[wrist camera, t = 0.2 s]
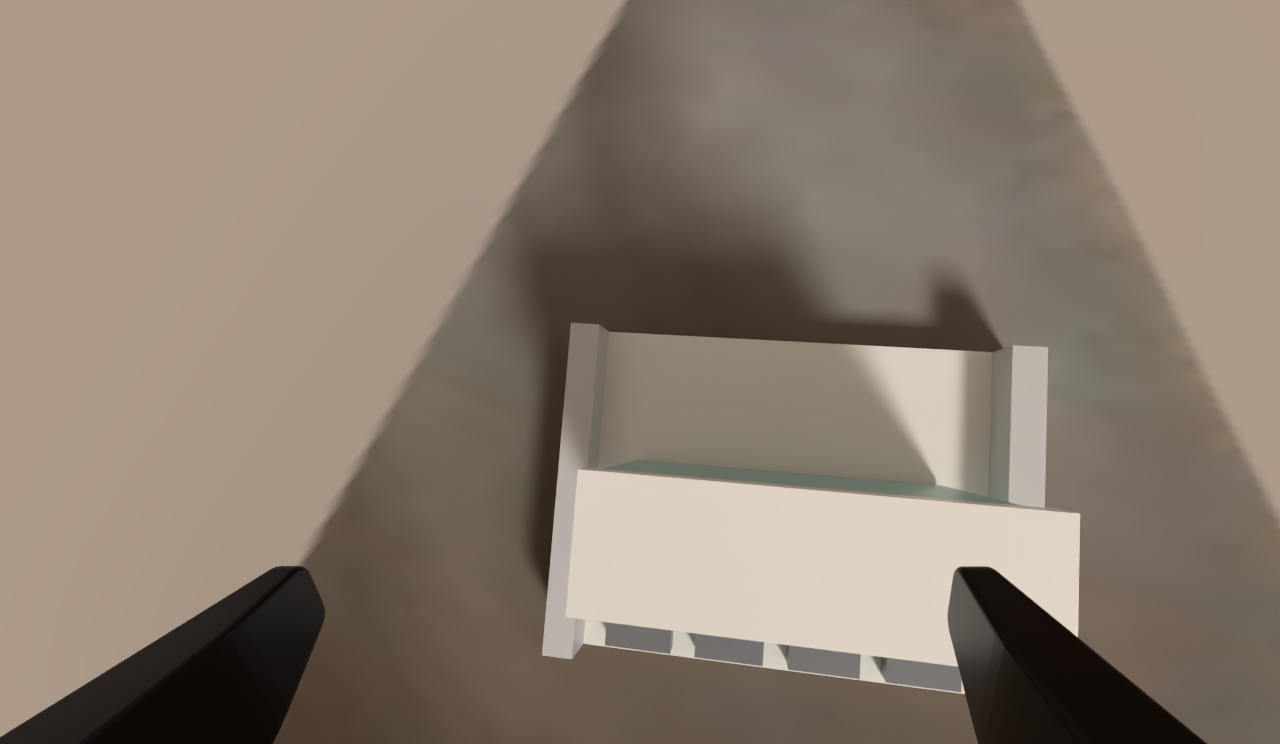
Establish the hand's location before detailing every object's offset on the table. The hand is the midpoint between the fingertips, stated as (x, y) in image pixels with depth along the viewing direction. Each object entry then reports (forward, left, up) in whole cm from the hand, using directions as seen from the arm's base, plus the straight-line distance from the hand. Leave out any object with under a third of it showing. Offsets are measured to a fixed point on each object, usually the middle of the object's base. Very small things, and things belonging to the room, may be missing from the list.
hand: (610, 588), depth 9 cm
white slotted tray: (-2, -2, -15) cm, 15 cm away
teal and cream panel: (-2, -2, -14) cm, 14 cm away
